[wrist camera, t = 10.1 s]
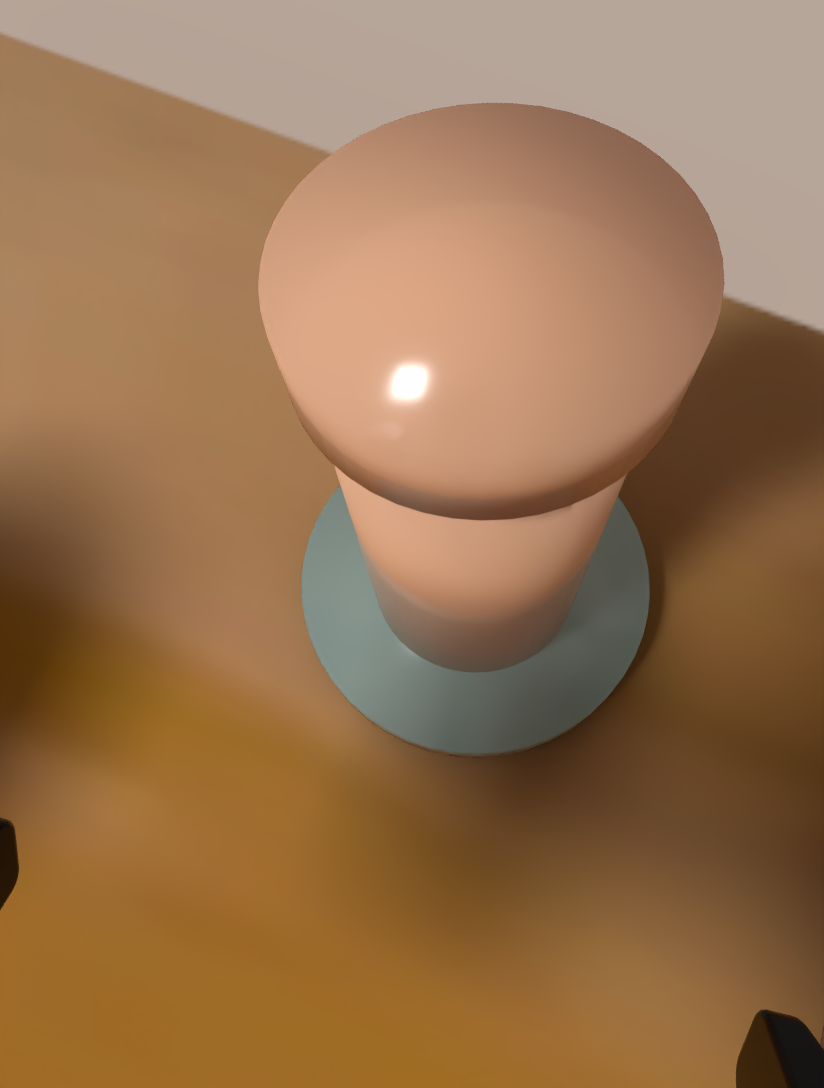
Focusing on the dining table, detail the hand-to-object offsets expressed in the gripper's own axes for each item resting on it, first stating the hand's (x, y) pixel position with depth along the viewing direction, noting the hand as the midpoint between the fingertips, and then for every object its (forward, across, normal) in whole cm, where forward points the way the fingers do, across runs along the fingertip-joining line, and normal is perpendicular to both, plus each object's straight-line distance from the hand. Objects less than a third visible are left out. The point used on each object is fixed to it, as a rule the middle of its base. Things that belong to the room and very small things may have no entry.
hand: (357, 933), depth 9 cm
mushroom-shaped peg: (+12, 0, 0) cm, 12 cm away
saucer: (+12, 0, +1) cm, 12 cm away
